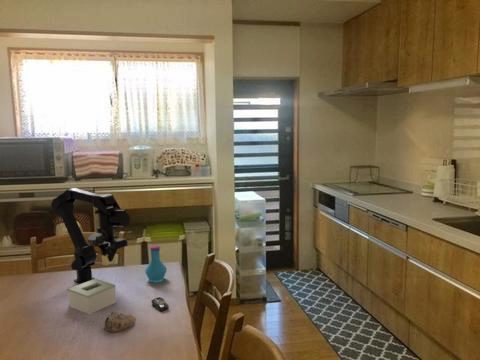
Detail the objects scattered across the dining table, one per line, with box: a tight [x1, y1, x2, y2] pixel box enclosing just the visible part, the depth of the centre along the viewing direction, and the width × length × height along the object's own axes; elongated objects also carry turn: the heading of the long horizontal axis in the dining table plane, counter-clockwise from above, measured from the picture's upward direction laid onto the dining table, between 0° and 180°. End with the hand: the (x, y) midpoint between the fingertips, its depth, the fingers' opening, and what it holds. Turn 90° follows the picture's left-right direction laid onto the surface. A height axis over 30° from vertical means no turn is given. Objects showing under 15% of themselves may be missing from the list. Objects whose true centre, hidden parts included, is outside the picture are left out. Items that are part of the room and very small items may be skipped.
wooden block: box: [101, 253, 116, 266], centre depth 167 cm, size 2×5×4 cm, turn 147°
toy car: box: [148, 281, 170, 312], centre depth 149 cm, size 4×12×8 cm, turn 39°
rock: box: [103, 311, 137, 334], centre depth 134 cm, size 9×6×10 cm
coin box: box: [67, 278, 117, 315], centre depth 151 cm, size 12×12×7 cm
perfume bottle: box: [144, 245, 168, 283], centre depth 174 cm, size 9×9×15 cm
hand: (108, 260), depth 167 cm, fingers closed on wooden block, 2 cm apart
